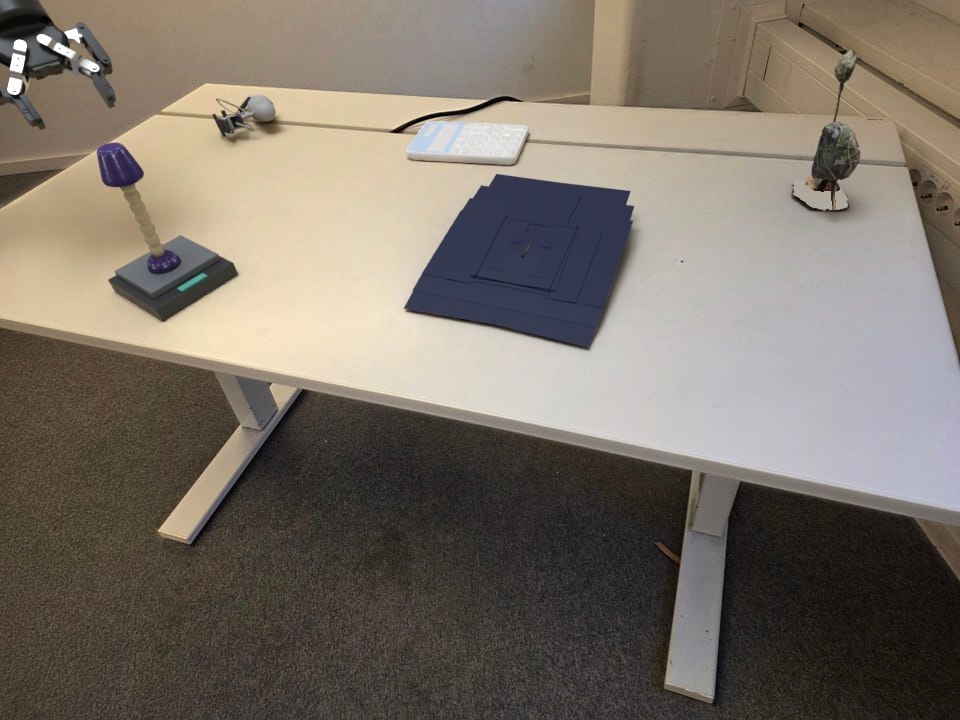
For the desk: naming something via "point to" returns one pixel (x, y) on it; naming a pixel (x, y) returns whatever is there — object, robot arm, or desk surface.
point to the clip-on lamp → (257, 109)
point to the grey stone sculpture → (836, 142)
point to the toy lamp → (134, 201)
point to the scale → (173, 279)
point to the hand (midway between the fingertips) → (77, 115)
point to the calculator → (468, 142)
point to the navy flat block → (529, 258)
